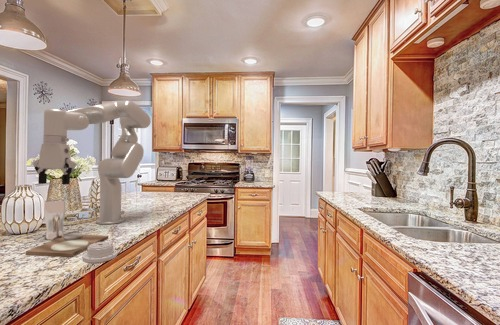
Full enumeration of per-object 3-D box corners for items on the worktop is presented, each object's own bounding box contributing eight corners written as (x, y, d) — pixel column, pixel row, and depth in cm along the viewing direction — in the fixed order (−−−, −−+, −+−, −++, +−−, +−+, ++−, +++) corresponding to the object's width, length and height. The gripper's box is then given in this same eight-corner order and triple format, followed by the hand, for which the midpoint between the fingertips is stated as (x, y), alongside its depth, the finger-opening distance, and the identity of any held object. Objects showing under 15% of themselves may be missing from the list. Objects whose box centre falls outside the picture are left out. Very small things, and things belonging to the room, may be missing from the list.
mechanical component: (75, 261, 85) (102, 265, 83) (75, 248, 85) (102, 251, 83) (99, 251, 95) (123, 254, 93) (99, 238, 95) (124, 241, 92)
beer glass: (52, 235, 111) (53, 198, 111) (69, 235, 111) (69, 199, 110) (39, 240, 104) (39, 201, 104) (56, 240, 104) (57, 202, 103)
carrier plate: (70, 236, 109) (70, 231, 109) (108, 238, 108) (108, 232, 108) (25, 254, 89) (25, 247, 89) (71, 257, 88) (71, 249, 88)
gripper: (82, 142, 109) (81, 184, 110) (42, 141, 111) (41, 182, 111) (69, 140, 102) (67, 185, 102) (26, 139, 103) (24, 184, 103)
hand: (54, 184), depth 106 cm, fingers open, 9 cm apart
